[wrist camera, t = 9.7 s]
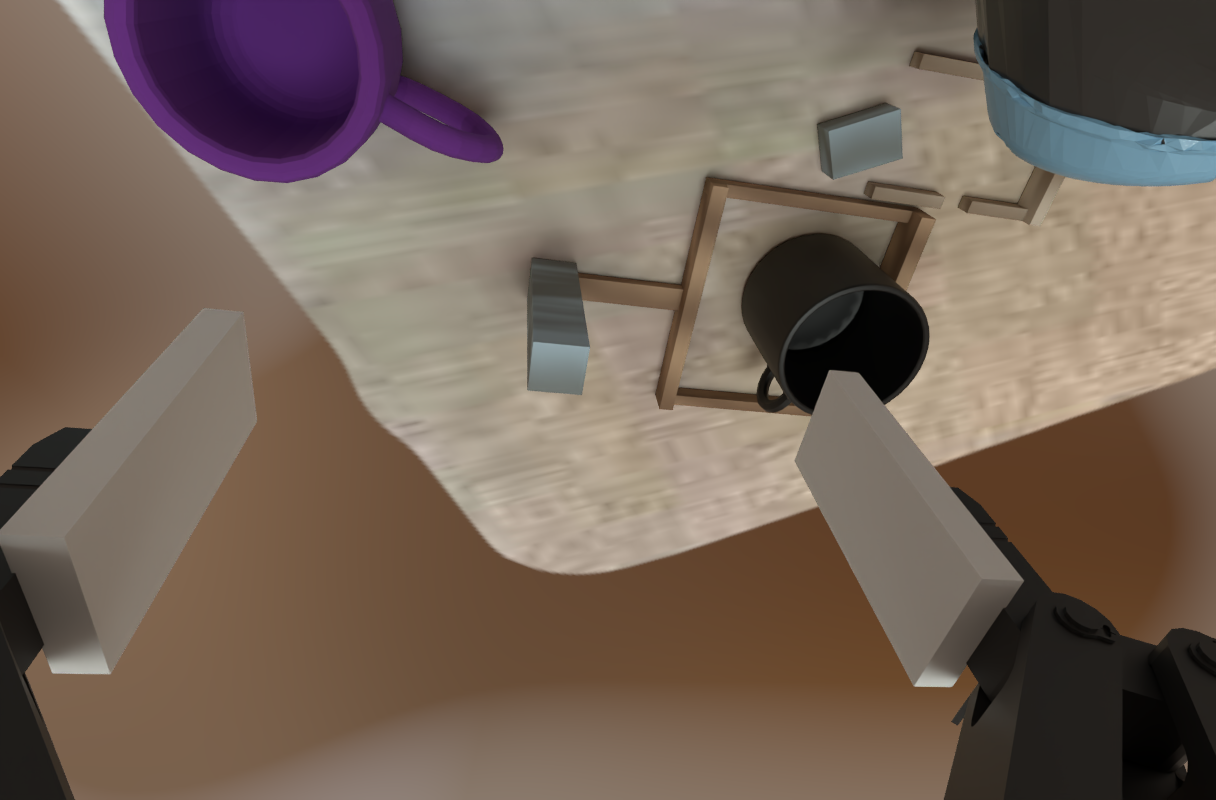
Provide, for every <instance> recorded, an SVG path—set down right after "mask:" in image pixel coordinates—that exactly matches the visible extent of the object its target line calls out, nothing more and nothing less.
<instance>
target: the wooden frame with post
mask: <svg viewBox="0 0 1216 800" xmlns="http://www.w3.org/2000/svg"><path fill="white" fill-rule="evenodd" d="M726 198H733V199H740V200H748V201H755V202H762V203H769V204H776V205H783V206H790V207H797V208H804V209H812V210H819V211H826V212H833V213H840V214H847V215H854V216H861V217H868V218H876V219H883V220H890V221H897V222H898V224H897V226H896V229H895V231H894V234H893V236H892V239H891V241H890V244H889V247H888V249H887V252H886V254H885V257H884V259H883V262H882V264H881V267H880V269H881V270H883V271H884V272H885V273H886V274H887V275H888V276H889V277H891V278H892V279H893V280H894V281H895V282H896V283H897V284H898V285H900V286H901V287H902V288H903V289H904V290H905V291H906V290H907V288H908V285H909V283H910V280H911V278H912V276H913V273H914V271H915V269H916V266H917V264H918V261H919V259H920V257H921V254H922V252H923V249H924V247H925V245H926V242H927V240H928V238H929V235H930V233H931V230H932V228H933V226H934V223H935V221H936V219H934V218H933V217H931V216H930V215H928V214H927V213H925V212H924V211H922V210H921V209H919V208H916V207H909V206H902V205H895V204H888V203H881V202H875V201H868V200H861V199H854V198H847V197H840V196H833V195H826V194H819V193H813V192H806V191H799V190H792V189H785V188H778V187H771V186H764V185H757V184H751V183H744V182H737V181H730V180H723V179H716V178H709V177H706V181H705V185H704V190H703V194H702V198H701V202H700V207H699V211H698V215H697V219H696V224H695V228H694V232H693V236H692V241H691V245H690V249H689V253H688V258H687V262H686V266H685V271H684V275H683V279H682V283H681V285H676V284H668V283H659V282H651V281H642V280H634V279H625V278H616V277H608V276H599V275H591V274H582V273H578V270H577V264H576V263H572V262H564V261H555V260H547V259H539V258H532V261H531V270H530V280H529V289H528V298H527V390H530V391H541V392H553V393H565V394H576V395H582V391H583V385H584V379H585V373H586V367H587V361H588V355H589V350H590V345H589V339H588V333H587V326H586V320H585V314H584V308H583V301H582V300H586V301H595V302H604V303H613V304H622V305H631V306H640V307H649V308H658V309H667V310H675V313H674V317H673V322H672V326H671V330H670V335H669V339H668V343H667V347H666V352H665V356H664V360H663V364H662V369H661V373H660V377H659V381H658V386H657V390H656V394H655V395H656V398H657V402H658V405H659V409H666V410H673V406H674V405H686V406H697V407H709V408H720V409H732V410H744V411H755V412H766V411H765V410H764V409H763V408H761V407H760V405H759V404H758V401H757V395H754V394H743V393H732V392H720V391H709V390H698V389H687V388H678V387H679V383H680V379H681V375H682V371H683V367H684V363H685V359H686V355H687V351H688V347H689V343H690V339H691V335H692V331H693V327H694V324H695V320H696V316H697V312H698V308H699V304H700V300H701V296H702V292H703V288H704V284H705V280H706V276H707V272H708V268H709V264H710V260H711V256H712V252H713V249H714V245H715V241H716V237H717V233H718V229H719V225H720V221H721V217H722V213H723V209H724V205H725V201H726ZM768 397H769V399H770V400H774V399H777V398H778V397H776V396H768ZM767 413H770V412H767ZM775 413H779V414H790V415H802V416H812V415H811V414H808V413H806V412H804V411H802V410H801V409H799V408H798V407H796V406H795V405H794V404H793V403H791V404H790V405H788V406H787V407H786V408H784V409H783V410H781V411H778V412H775Z"/></svg>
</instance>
